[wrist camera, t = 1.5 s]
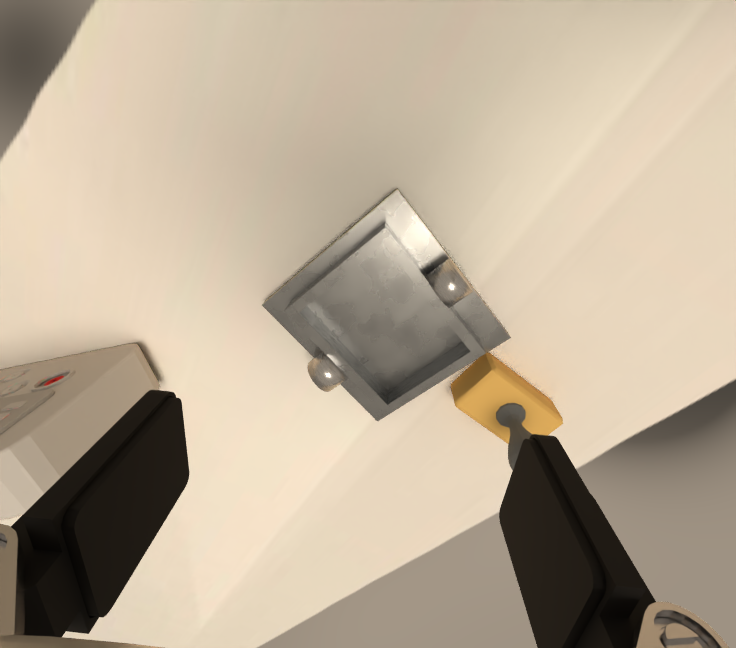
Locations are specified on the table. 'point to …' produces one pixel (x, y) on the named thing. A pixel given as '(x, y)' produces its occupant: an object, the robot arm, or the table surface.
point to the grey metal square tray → (385, 311)
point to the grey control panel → (61, 416)
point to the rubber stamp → (504, 403)
